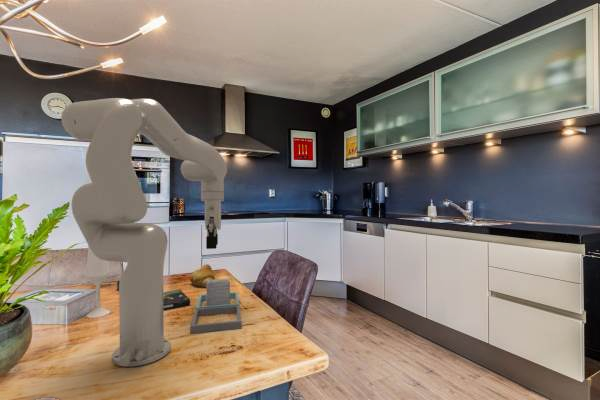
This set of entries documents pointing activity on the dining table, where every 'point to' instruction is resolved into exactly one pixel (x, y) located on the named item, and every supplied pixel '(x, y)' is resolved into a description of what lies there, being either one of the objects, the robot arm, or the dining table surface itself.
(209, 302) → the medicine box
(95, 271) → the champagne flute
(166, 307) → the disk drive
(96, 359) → the dining table surface
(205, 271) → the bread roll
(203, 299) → the dock
